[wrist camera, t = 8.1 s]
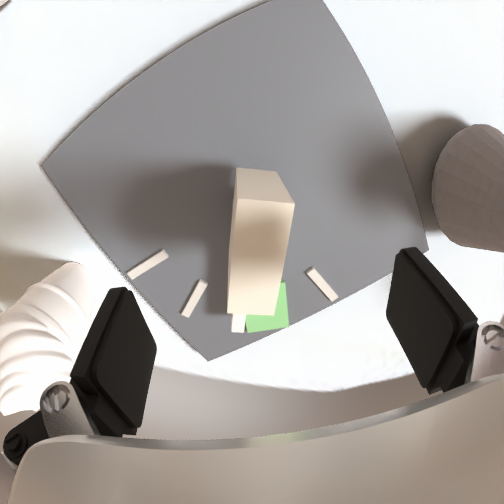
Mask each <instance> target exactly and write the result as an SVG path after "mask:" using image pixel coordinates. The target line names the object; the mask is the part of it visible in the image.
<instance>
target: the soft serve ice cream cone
mask: <svg viewBox="0 0 504 504" xmlns="http://www.w3.org/2000/svg"><path fill="white" fill-rule="evenodd" d="M96 290H97V285H96V281H95V278H94V276H93V274H92V273H91V272H90V271H89V270H88V269H87V268H86V267H85V266H83V265H81V264H79V263H76V262H68V263H66V264H64V265H63V266H61V267H60V268H58V269H57V270H55V271H54V272H52V273H51V274H50V275H48V276H47V277H45V278H44V279H43V280H41V281H40V282H38V283H35V284H32V285H31V286H30V287H28V289H27V290H26V292H25V294H24V295H23V296H22V297H21V298H20V299H19V300H18V301H17V302H16V303H15V304H14V305H12V306H10V307H8V308H7V309H6V311H5V312H2V313H0V411H1V413H2V414H3V415H4V416H5V415H9V414H12V413H16V412H18V411H22V410H31V409H32V410H34V411H37V410H38V409H40V404H39V402H40V397H41V395H42V393H43V391H44V390H45V389H46V388H47V387H48V386H49V385H50V384H52V383H54V382H56V381H67V382H68V383H69V382H70V380H71V377H70V376H69V375H70V373H71V371H72V368H73V366H74V363H75V361H76V359H77V356H78V354H79V352H80V350H81V346H82V343H83V341H84V340H85V338H86V336H87V334H88V321H89V317H90V313H91V309H92V305H93V301H94V297H95V294H96Z"/></svg>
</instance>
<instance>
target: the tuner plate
mask: <svg viewBox="0 0 504 504" xmlns="http://www.w3.org/2000/svg"><path fill="white" fill-rule="evenodd" d="M41 166H42V167H43V169H44V170H45V172H46V173H47V175H48V176H49V178H50V179H51V181H52V182H53V184H54V185H55V187H56V188H57V190H58V191H59V192H60V194H61V195H62V197H63V198H64V199H65V201H66V202H67V204H68V205H69V206H70V208H71V209H72V210H73V212H74V213H75V215H76V216H77V217H78V219H79V220H80V221H81V222H82V224H83V225H84V226H85V228H86V229H87V230H88V232H89V233H90V234H91V235H92V237H93V238H94V239H95V240H96V242H97V243H98V244H99V245H100V247H101V248H102V249H103V250H104V252H105V253H106V254H107V255H108V256H109V258H110V259H111V260H112V261H113V262H114V264H115V265H116V266H117V267H118V268H119V269H120V271H121V272H122V273H123V274H124V275H125V276H126V277H127V279H128V280H129V281H130V282H131V283H132V284H133V285H134V287H135V288H136V289H137V290H138V291H139V292H140V293H141V294H142V295H143V296H144V298H145V299H146V300H147V301H148V302H149V303H150V304H151V305H152V306H153V307H154V308H155V309H156V310H157V311H158V312H159V314H160V315H161V316H162V317H163V318H164V319H165V320H166V321H167V322H168V323H169V324H170V325H171V326H172V327H173V328H174V329H175V330H176V331H177V332H178V333H179V334H180V335H181V336H182V337H183V338H184V339H185V340H186V341H187V342H188V343H189V344H190V345H191V346H192V347H193V348H194V349H195V350H196V351H198V352H199V353H200V354H201V355H202V356H203V357H204V358H205V359H206V360H207V361H210V360H213V359H215V358H218V357H220V356H223V355H225V354H228V353H230V352H232V351H235V350H237V349H239V348H242V347H244V346H246V345H249V344H251V343H253V342H255V341H258V340H260V339H262V338H264V337H267V336H269V335H271V334H273V333H275V332H277V331H280V330H282V329H284V328H286V327H289V326H290V325H292V324H294V323H297V322H299V321H301V320H303V319H305V318H307V317H309V316H311V315H313V314H315V313H317V312H319V311H321V310H323V309H325V308H327V307H329V306H331V305H333V304H335V303H337V302H339V301H340V300H342V299H344V298H346V297H348V296H350V295H352V294H354V293H356V292H357V291H359V290H361V289H363V288H365V287H367V286H368V285H370V284H372V283H374V282H376V281H377V280H379V279H381V278H383V277H384V276H386V275H388V274H390V273H391V272H393V269H394V262H395V256H396V254H397V253H399V251H400V250H401V249H403V248H409V247H417V248H418V249H419V250H420V251H421V252H422V254H423V253H425V252H427V251H428V250H429V248H428V244H427V239H426V235H425V231H424V227H423V223H422V219H421V215H420V212H419V208H418V205H417V201H416V198H415V194H414V191H413V188H412V185H411V181H410V178H409V175H408V172H407V169H406V166H405V163H404V161H403V158H402V155H401V152H400V150H399V147H398V144H397V142H396V139H395V136H394V134H393V131H392V129H391V127H390V124H389V122H388V119H387V117H386V115H385V112H384V110H383V108H382V106H381V103H380V101H379V99H378V97H377V95H376V93H375V90H374V88H373V86H372V84H371V82H370V80H369V78H368V76H367V74H366V72H365V70H364V68H363V67H362V65H361V63H360V61H359V59H358V57H357V55H356V54H355V52H354V50H353V48H352V46H351V45H350V43H349V41H348V40H347V38H346V36H345V34H344V33H343V31H342V30H341V28H340V26H339V25H338V23H337V22H336V20H335V18H334V17H333V15H332V14H331V12H330V11H329V9H328V8H327V6H326V5H325V3H324V2H323V0H271V1H268V2H266V3H263V4H261V5H259V6H257V7H254V8H252V9H250V10H248V11H245V12H243V13H241V14H239V15H237V16H235V17H233V18H231V19H229V20H227V21H225V22H223V23H221V24H219V25H217V26H216V27H214V28H212V29H210V30H208V31H206V32H205V33H203V34H201V35H199V36H198V37H196V38H194V39H192V40H191V41H189V42H187V43H186V44H184V45H183V46H181V47H179V48H178V49H176V50H175V51H173V52H172V53H170V54H169V55H167V56H165V57H164V58H162V59H161V60H160V61H158V62H157V63H155V64H154V65H152V66H151V67H149V68H148V69H147V70H145V71H144V72H143V73H141V74H140V75H139V76H137V77H136V78H135V79H133V80H132V81H131V82H129V83H128V84H127V85H125V86H124V87H123V88H122V89H120V90H119V91H118V92H117V93H115V94H114V95H113V96H112V97H111V98H109V99H108V100H107V101H106V102H105V103H104V104H102V105H101V106H100V107H99V108H98V109H97V110H96V111H94V112H93V113H92V114H91V115H90V116H89V117H88V118H87V119H86V120H85V121H84V122H83V123H81V124H80V125H79V126H78V127H77V128H76V129H75V130H74V131H73V132H72V133H71V134H70V135H69V136H68V137H67V138H66V139H65V140H64V141H63V142H62V143H61V144H60V145H59V146H58V148H57V149H56V150H55V151H54V152H53V153H52V154H51V155H50V156H49V157H48V158H47V159H46V161H45V162H44V163H43V164H42V165H41ZM237 168H247V169H258V170H268V171H276V172H277V173H278V175H279V177H280V179H281V180H282V182H283V184H284V185H285V187H286V189H287V191H288V192H289V194H290V196H291V198H292V199H293V201H294V203H295V206H294V212H293V218H292V224H291V229H290V235H289V241H288V246H287V251H286V257H285V262H284V268H283V273H282V278H281V283H280V288H279V293H278V298H277V303H276V308H275V313H274V316H273V315H251V314H246V320H245V327H244V333H240V332H231V315H232V313H227V297H228V256H229V244H230V232H231V221H232V202H233V198H234V189H235V179H236V169H237Z"/></svg>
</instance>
